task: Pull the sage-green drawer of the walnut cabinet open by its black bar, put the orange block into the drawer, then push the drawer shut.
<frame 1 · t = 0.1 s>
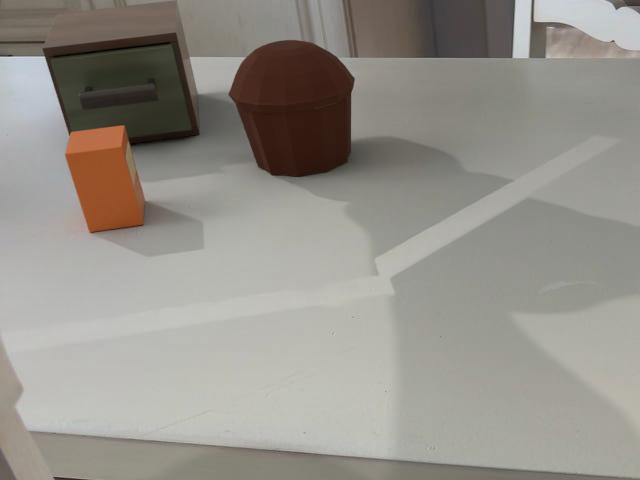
orange block: (118, 216, 88), on the table
muffin: (304, 161, 97), on the table
cabinet: (139, 120, 109), on the table
drawer: (125, 83, 103), point 5 cm above the table, slide at 0.0 cm, touching cabinet
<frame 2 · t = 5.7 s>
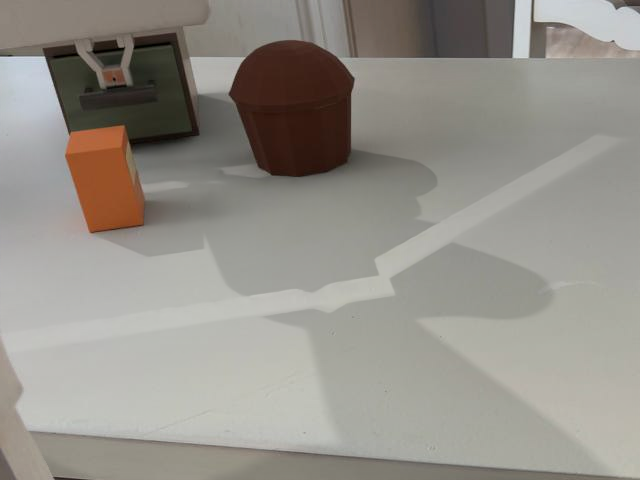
hand: (118, 87, 96), 6 cm above the table, tool pointing down, fingers closed, pressing on drawer
drawer: (125, 84, 103), point 5 cm above the table, slide at 0.4 cm, touching gripper
everything else where it was.
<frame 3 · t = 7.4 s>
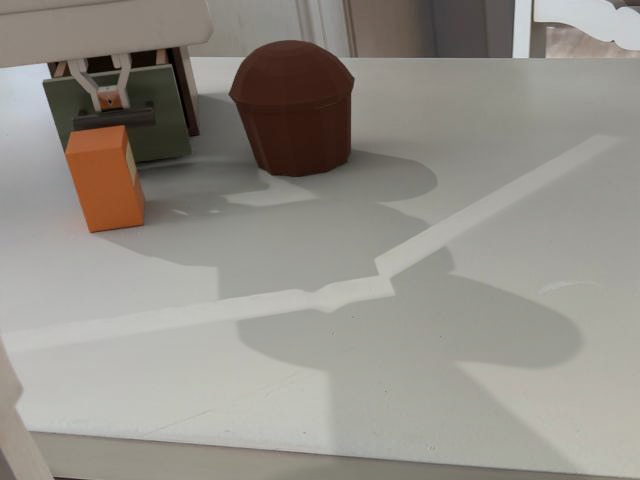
hand: (114, 109, 90), 6 cm above the table, tool pointing down, fingers closed, pressing on drawer
drawer: (122, 105, 97), point 5 cm above the table, slide at 8.0 cm, touching gripper
everything else where it was.
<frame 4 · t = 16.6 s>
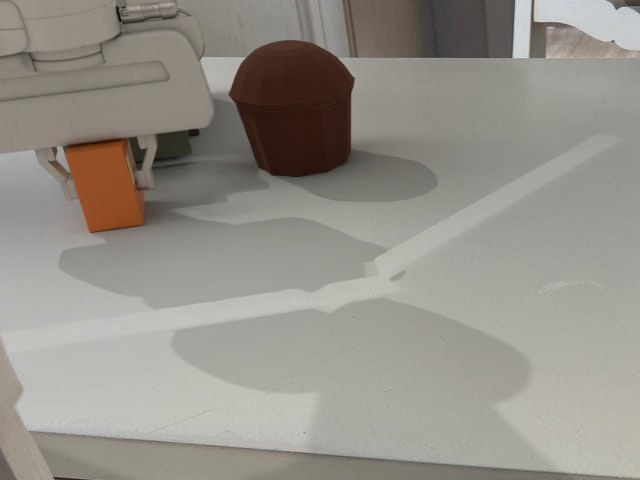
hand: (110, 193, 87), 2 cm above the table, tool pointing down, fingers closed on orange block, 4 cm apart
orange block: (118, 216, 88), on the table, touching gripper
drawer: (122, 104, 97), point 5 cm above the table, slide at 7.8 cm
everything else where it was.
when the fingers open (10 cm above the table, at t = 23.0 s): orange block drops 6 cm, resting on drawer.
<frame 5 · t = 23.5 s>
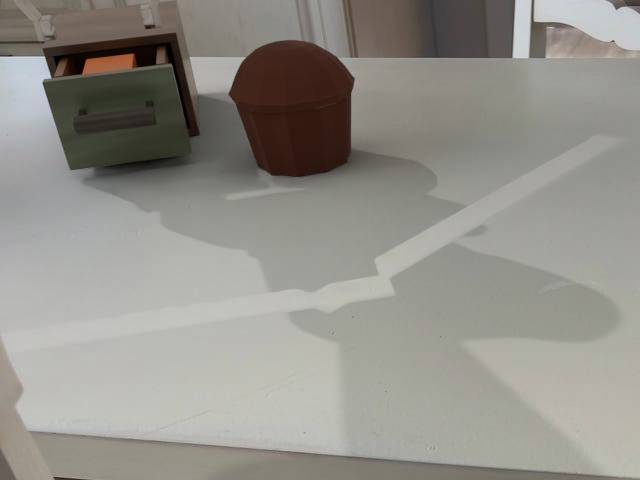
hand: (101, 33, 93), 11 cm above the table, tool pointing down, fingers open, 8 cm apart
orange block: (128, 135, 99), point 2 cm above the table, touching drawer
drawer: (122, 104, 97), point 5 cm above the table, slide at 7.8 cm, touching orange block
everything else where it was.
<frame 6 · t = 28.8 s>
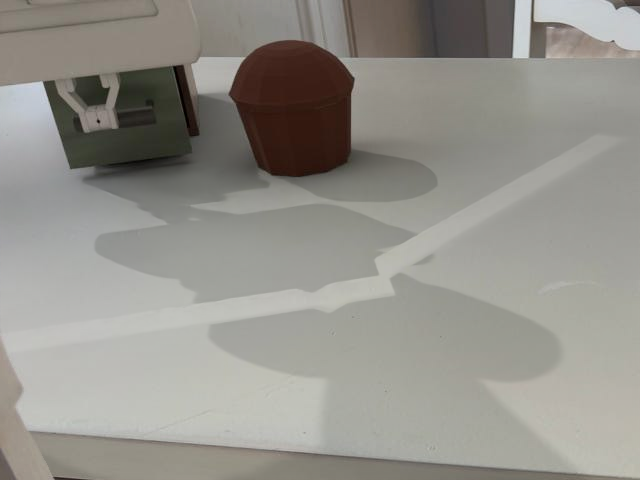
hand: (102, 129, 89), 6 cm above the table, tool pointing down, fingers closed
drawer: (122, 103, 98), point 5 cm above the table, slide at 7.5 cm, touching orange block, gripper
everything else where it was.
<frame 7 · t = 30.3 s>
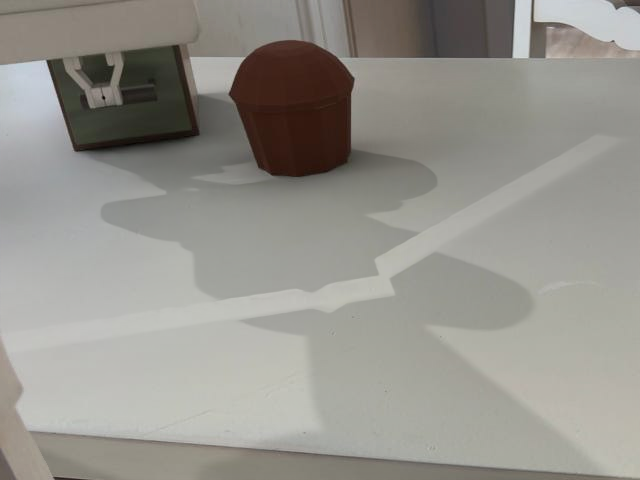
hand: (107, 105, 95), 6 cm above the table, tool pointing down, fingers closed, pressing on drawer
orange block: (131, 112, 105), point 2 cm above the table, touching drawer
drawer: (125, 83, 103), point 5 cm above the table, slide at 0.0 cm, touching orange block, gripper
everything else where it was.
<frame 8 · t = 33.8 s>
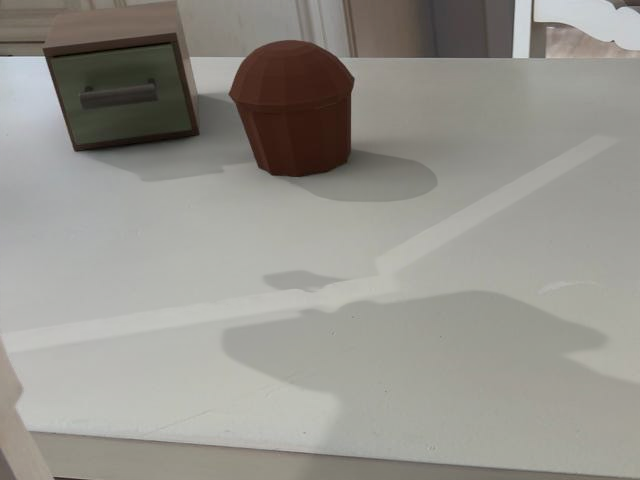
drawer: (125, 83, 103), point 5 cm above the table, slide at 0.0 cm, touching orange block
everything else where it was.
at the end: drawer pulled out 8.0 cm at the most during the clip, back to where it started at the end; orange block inside the target area in the cabinet (4.3 cm from its centre), point 2.0 cm above the cabinet's base; drawer slide at 0.0 cm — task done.
